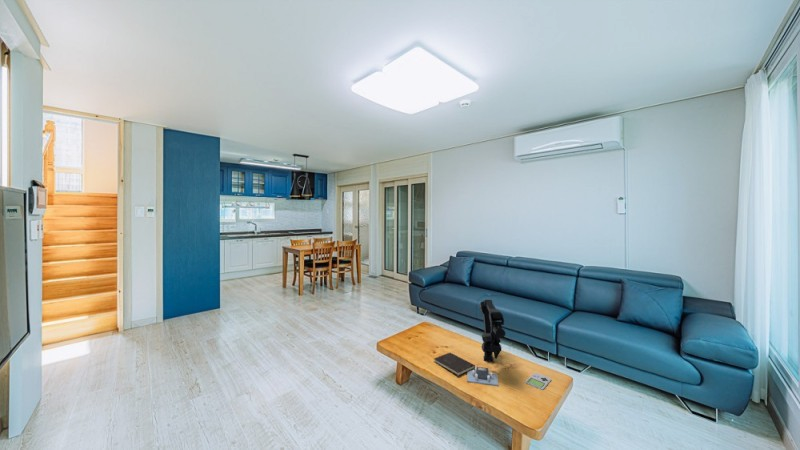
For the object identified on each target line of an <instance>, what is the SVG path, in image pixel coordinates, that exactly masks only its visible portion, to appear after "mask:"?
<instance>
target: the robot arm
mask: <svg viewBox="0 0 800 450" xmlns="http://www.w3.org/2000/svg"><path fill="white" fill-rule="evenodd" d="M478 304H479V306H478V307H479V310H480V312H481V314H482V315H483V326H484V327H483V328H484V333H482V334H481V340H482V344H481V350H482V352H483V361H484V362H491V363H492V362H493V363H494V360H495V359H498V357H499V355H500V353H501V352H502V345H501V341H502V340H501V339H504V337H505V336H506V331H505V330H504V328H503V327H502V326H504V325H505V319H504V316H503V313H502V312H501V311H500V309H497V308H496V307H495V304H494V303H493V301H492V299H484V300H483V301H481V302H480V303H478Z"/></svg>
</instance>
